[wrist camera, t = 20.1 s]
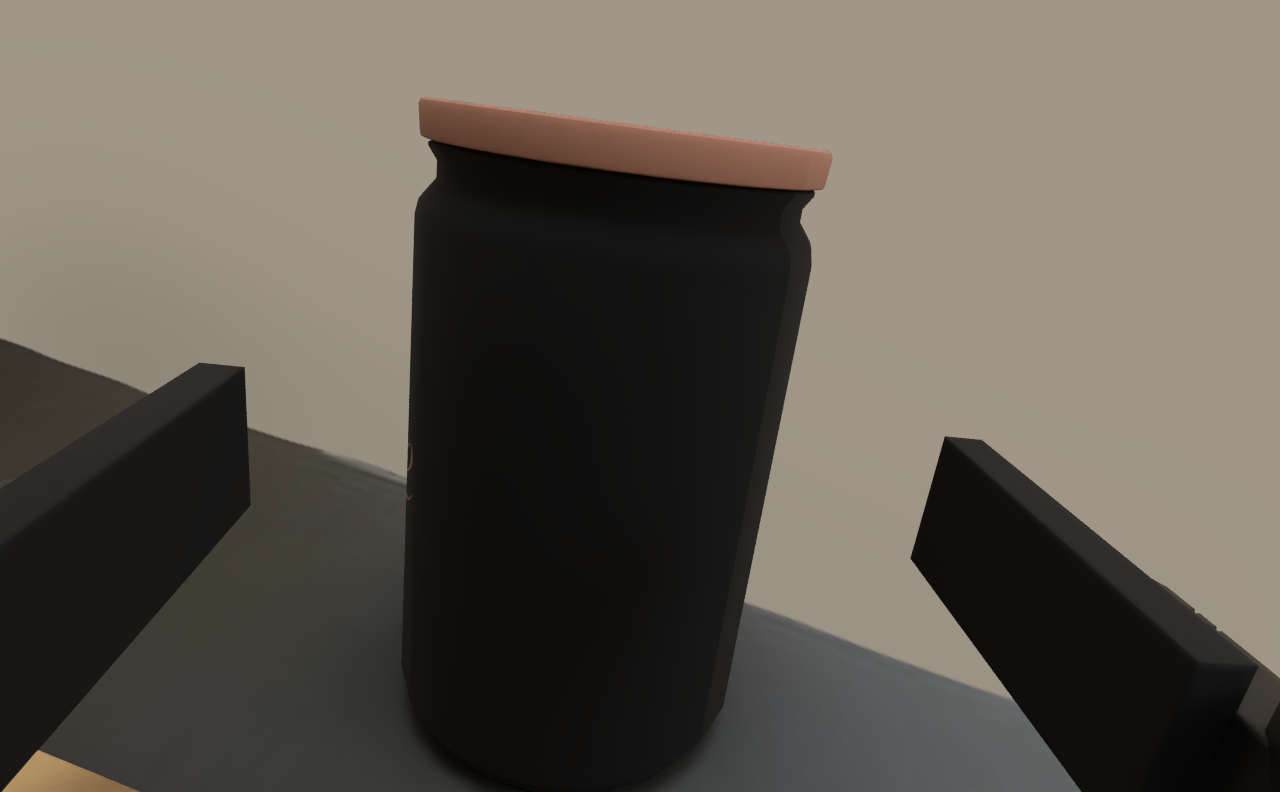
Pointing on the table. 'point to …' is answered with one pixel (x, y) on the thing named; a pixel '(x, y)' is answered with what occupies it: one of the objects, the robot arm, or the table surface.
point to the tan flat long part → (60, 777)
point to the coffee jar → (590, 431)
